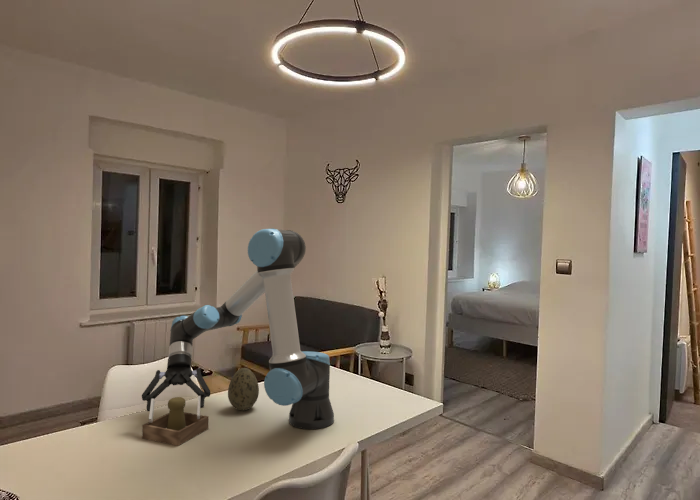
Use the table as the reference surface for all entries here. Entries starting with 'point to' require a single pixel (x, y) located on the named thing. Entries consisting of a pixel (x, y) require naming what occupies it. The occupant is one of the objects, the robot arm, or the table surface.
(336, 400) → the table surface
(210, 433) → the table surface
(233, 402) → the decorative egg
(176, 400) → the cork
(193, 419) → the walnut box
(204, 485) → the table surface
